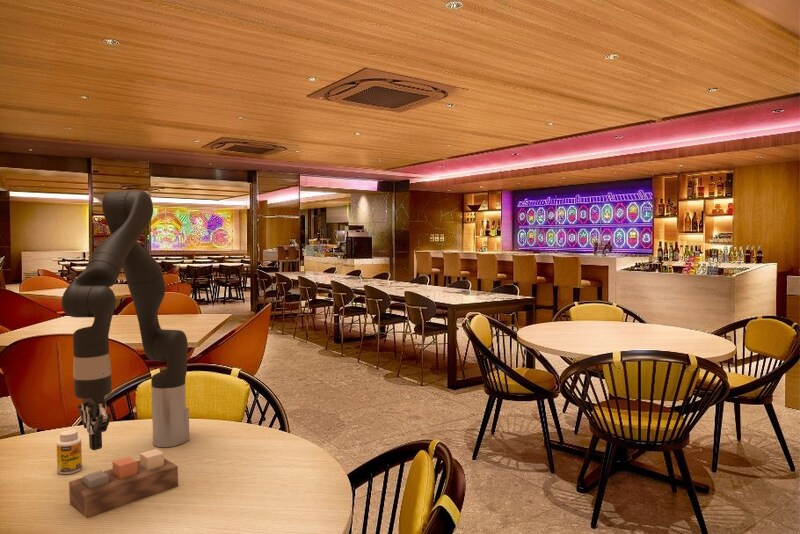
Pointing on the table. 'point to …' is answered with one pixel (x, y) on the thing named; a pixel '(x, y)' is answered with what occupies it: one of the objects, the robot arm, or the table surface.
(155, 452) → the ivory key
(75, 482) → the frame
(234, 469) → the table surface
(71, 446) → the supplement bottle
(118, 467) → the terracotta key
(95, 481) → the slate key
